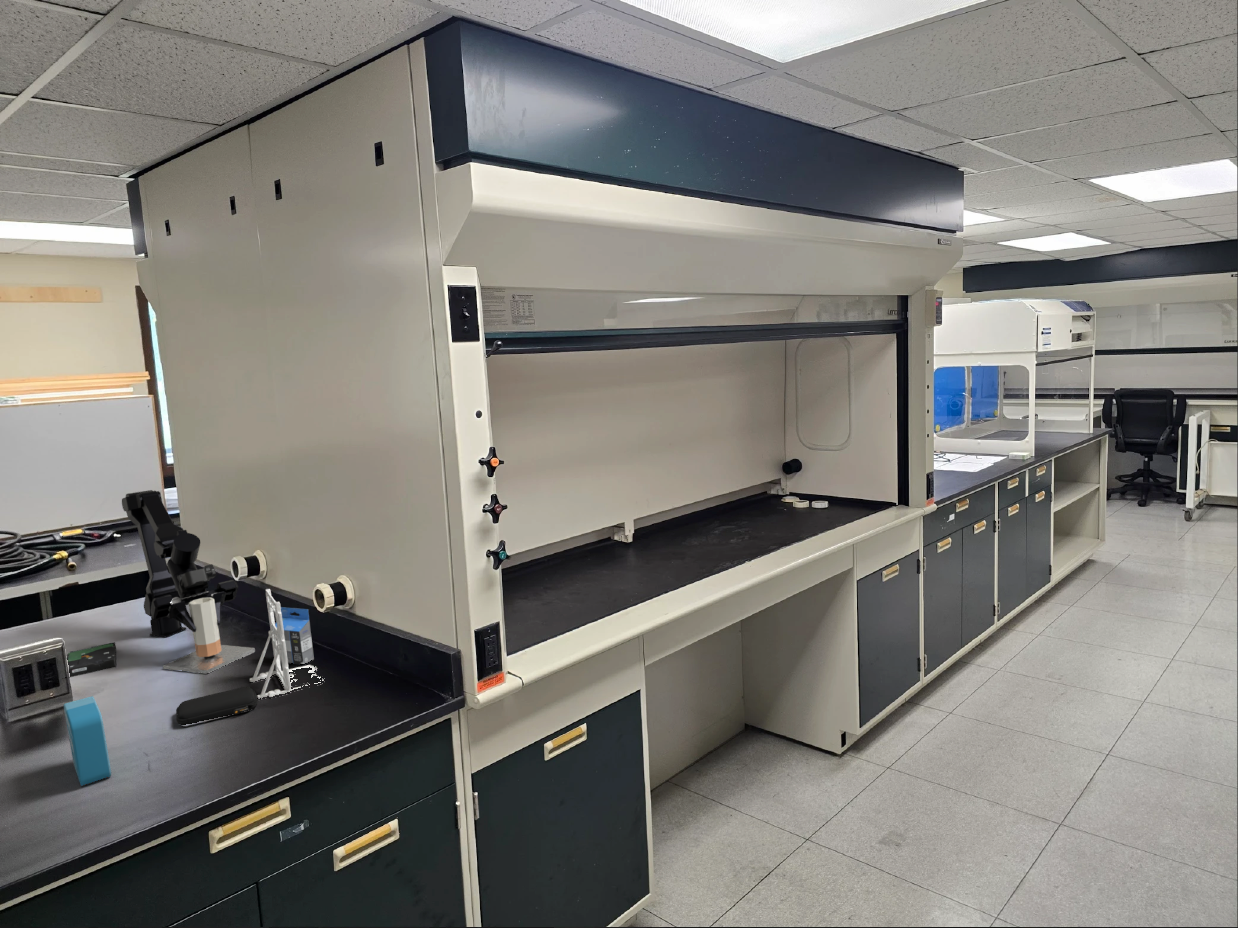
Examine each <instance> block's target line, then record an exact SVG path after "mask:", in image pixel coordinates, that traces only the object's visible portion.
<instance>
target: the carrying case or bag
mask: <svg viewBox="0 0 1238 928" xmlns="http://www.w3.org/2000/svg"><path fill="white" fill-rule="evenodd" d="M258 701H259V700H258V699H257V692H256V691H255V690H254V689H252V687H250V686H241V687H238V688H233V689H228V690H224V691H220V692H216V693H212V694H207V695H203V696H199V697H195V698H191V699H186V700H184V701H181V703H179V705H178V706H177V708H176V709H175V722H176V724H177V725H180V726H181V725H186V724H192V723H197V722H199V721H204V720H209V719H214V718H218V717H223V716H228V715H232V714H234V715H233V716H236V715H240V714H239V713H241V712H244V711H248V710H251V709H253V708H254V709H255V707H256V706H257V705H258ZM254 709H253V710H254ZM251 711H252V710H251ZM248 712H249V711H248ZM241 714H242V713H241Z"/></svg>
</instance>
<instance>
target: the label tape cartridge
mask: <svg viewBox="0 0 1238 928" xmlns="http://www.w3.org/2000/svg"><path fill="white" fill-rule="evenodd" d="M280 607H281V614H282V621H283V629H284V637H285V644H286V652H287V659H288V664H291V663H293V664H292V665H300V664H305V663H307V664H308V662H309V663H311V662H312V661H314V660H315V657H314V648H313V642H312V641H313V640H312V633H311V631H312V630H311V622H310V614H309V613H310V612H309V609H308V608H297V607H283V606H280ZM294 613H296V614H298V615H295V614H294ZM293 614H294V615H293ZM275 627H276V628H277V622H275ZM279 643H280V642H279ZM279 658H280V656H279ZM311 660H312V661H311ZM310 661H311V662H310ZM280 663H282V662H281V658H280ZM305 665H306V664H305Z"/></svg>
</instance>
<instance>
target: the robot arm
mask: <svg viewBox="0 0 1238 928" xmlns="http://www.w3.org/2000/svg"><path fill="white" fill-rule="evenodd" d="M121 506H122V509H123V511H124V512H126V516H127V519H128V520H130V522H132V523H133V524H134V525H135V526H136V527H137V530H138V531H137V532H138V534H139V539H140V543H141V547H142V551H143V555H144V559H145V562H146V563H145V564H146V567H147V571H148V574H149V579H148V582H147V585H146V588H145V591H146V594H145V596H144V600H143V609H144V614H145V615H147V616H148V617H150V618H151V619H150V621H149V622H150V623H149V624H150V629H151V633H149V636H150V637H161V638H168V637H171V636H173V635H176V634H178V633H180V632H183V631H186V630H187V628H188V630H190V631H191V632H196V628H195V625H194V622H193V621H192V619H191V615H190V613H189V611H188V609H187V606H189V602H191V601H193V600H196V599H200V598H209V597H211V598H213V599H214V601H215V608H216V615H217V623H218V627H219V626H220V625H221V607H223V605H224V603H227V602H231V601H234V600H235V599H236V597H237V594H238V591H239V585H238V583H237V581H235V580H234V579H230V580H226V581H221V582H218V583H217V586H216V589H212V590H208V591H207V589H208V588H209V584H208V582H210V581H211V579H214V578H216V576H217V573H216V568H215V567H214V565H213V564H207V565H204V566H203V568H199V569H198V568H197V565H196V564H195V561H197V559H198V555H199V551H200V546H201V539H200V537H198V536H197V535H196V534H193V533H190V532H188V530H187V529H184V528H183V527H181V526H179V525H176V524H175V523H174V522H173V520H172V517H171V516H170V514H169V512H168V510H167V508H166V506H165V504H164V503H163V498H162V494H161V491H159V490H152V489H150V490H143V491H137V492H136V491H135V492H129V493H125V497H123V498H121ZM167 558H169V559H168V561H166V559H167ZM183 625H184V626H183Z"/></svg>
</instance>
